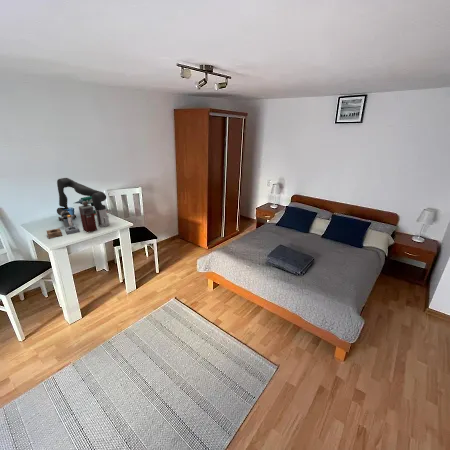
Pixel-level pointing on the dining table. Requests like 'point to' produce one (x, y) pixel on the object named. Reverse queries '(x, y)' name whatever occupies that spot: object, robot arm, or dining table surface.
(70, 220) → the steel peg
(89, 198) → the power tool
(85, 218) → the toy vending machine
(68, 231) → the socket block
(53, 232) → the walnut rack
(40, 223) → the dining table surface
